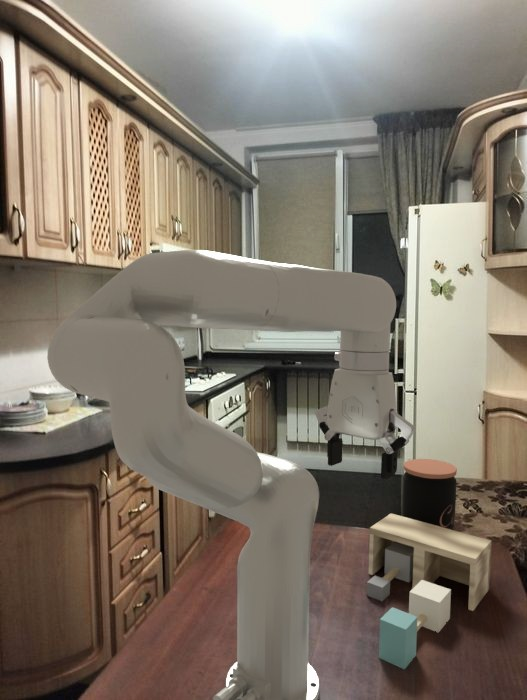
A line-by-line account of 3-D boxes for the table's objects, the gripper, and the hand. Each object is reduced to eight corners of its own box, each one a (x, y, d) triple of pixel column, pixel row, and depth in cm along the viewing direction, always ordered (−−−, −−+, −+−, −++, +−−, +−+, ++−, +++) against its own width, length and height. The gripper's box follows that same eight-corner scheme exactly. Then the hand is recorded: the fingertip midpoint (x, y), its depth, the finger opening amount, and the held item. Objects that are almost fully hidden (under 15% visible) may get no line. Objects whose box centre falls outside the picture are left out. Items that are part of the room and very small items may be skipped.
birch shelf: (473, 611, 92) (475, 558, 91) (368, 573, 105) (369, 527, 104) (489, 589, 99) (491, 540, 98) (389, 556, 112) (390, 513, 111)
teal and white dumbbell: (407, 671, 77) (409, 630, 77) (375, 656, 81) (376, 617, 80) (449, 618, 90) (451, 583, 90) (420, 607, 93) (421, 574, 93)
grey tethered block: (387, 603, 95) (388, 575, 94) (361, 593, 98) (362, 566, 97) (419, 572, 105) (420, 547, 105) (395, 564, 109) (396, 540, 108)
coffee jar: (446, 566, 108) (450, 477, 106) (393, 553, 113) (396, 468, 111) (458, 546, 117) (462, 463, 115) (409, 534, 122) (411, 455, 120)
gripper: (304, 359, 88) (302, 463, 89) (403, 369, 76) (398, 489, 77) (331, 356, 93) (329, 455, 95) (427, 365, 82) (422, 477, 83)
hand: (360, 470), depth 86 cm, fingers open, 9 cm apart
